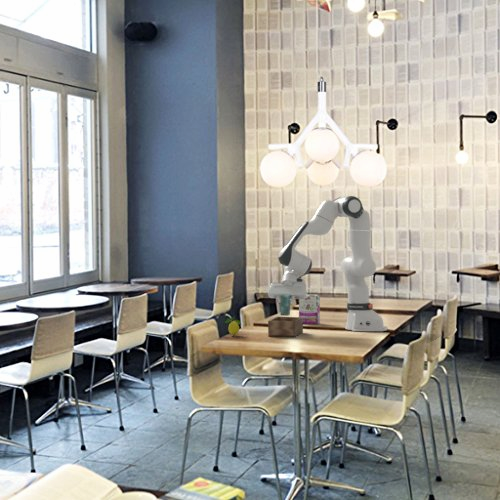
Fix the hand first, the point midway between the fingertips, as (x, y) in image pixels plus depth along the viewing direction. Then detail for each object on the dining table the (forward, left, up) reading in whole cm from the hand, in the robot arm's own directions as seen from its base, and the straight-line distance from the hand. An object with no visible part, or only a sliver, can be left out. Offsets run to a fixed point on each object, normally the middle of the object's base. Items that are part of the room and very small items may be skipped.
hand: (284, 303), depth 410 cm
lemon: (+25, +9, -16) cm, 31 cm away
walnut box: (0, -1, -16) cm, 16 cm away
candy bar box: (-3, -43, -16) cm, 46 cm away
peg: (0, -1, -6) cm, 6 cm away
